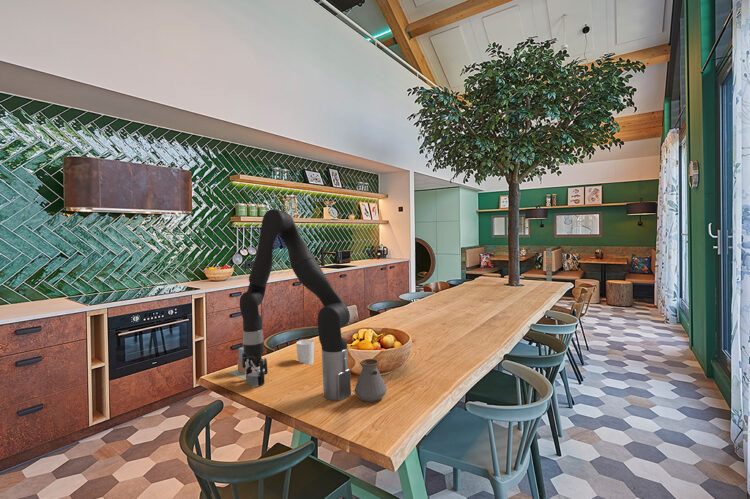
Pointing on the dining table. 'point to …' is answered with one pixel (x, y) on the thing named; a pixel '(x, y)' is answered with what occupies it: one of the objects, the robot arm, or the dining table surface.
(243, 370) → the base brick
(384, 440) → the dining table surface
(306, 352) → the white cup
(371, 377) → the coffee pot
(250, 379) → the slate brick
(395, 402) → the dining table surface
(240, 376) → the build plate
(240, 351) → the blue brick
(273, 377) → the dining table surface
